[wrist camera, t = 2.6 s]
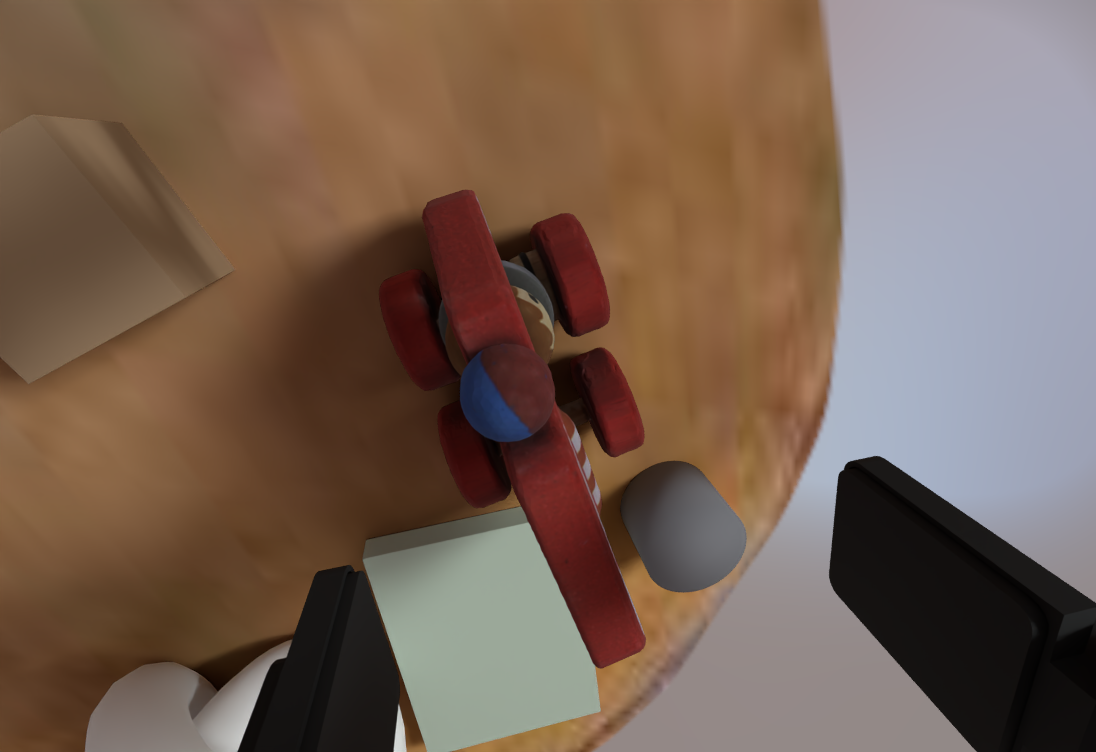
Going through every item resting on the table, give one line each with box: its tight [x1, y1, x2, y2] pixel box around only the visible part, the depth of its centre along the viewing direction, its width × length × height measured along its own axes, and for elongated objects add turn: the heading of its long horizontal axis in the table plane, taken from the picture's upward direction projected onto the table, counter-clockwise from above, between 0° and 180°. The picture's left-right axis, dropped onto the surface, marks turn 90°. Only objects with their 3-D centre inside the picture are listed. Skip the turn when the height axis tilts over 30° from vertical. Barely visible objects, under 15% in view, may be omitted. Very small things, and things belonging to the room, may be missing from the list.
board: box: [363, 507, 601, 752], centre depth 26 cm, size 13×9×1 cm
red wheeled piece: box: [379, 190, 646, 668], centre depth 16 cm, size 7×12×10 cm, turn 18°
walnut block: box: [0, 114, 236, 384], centre depth 15 cm, size 5×5×4 cm
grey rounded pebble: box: [620, 461, 746, 592], centre depth 24 cm, size 4×4×4 cm
